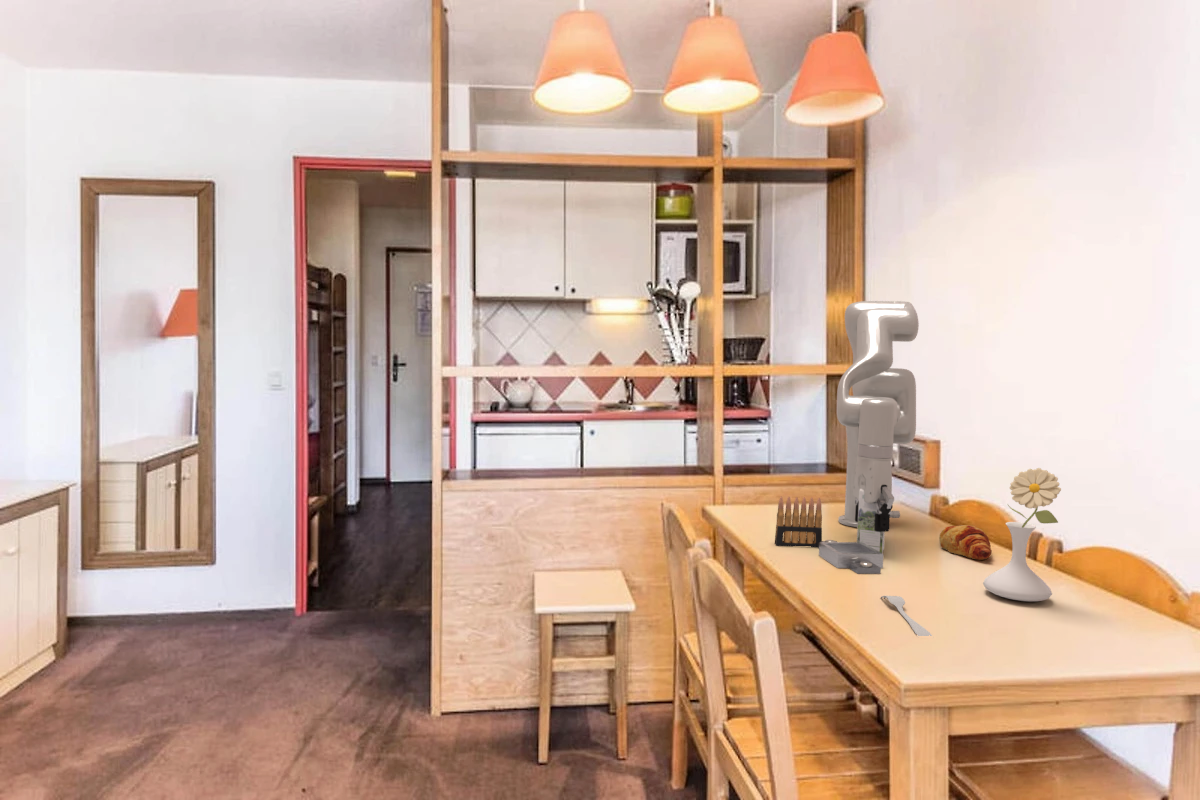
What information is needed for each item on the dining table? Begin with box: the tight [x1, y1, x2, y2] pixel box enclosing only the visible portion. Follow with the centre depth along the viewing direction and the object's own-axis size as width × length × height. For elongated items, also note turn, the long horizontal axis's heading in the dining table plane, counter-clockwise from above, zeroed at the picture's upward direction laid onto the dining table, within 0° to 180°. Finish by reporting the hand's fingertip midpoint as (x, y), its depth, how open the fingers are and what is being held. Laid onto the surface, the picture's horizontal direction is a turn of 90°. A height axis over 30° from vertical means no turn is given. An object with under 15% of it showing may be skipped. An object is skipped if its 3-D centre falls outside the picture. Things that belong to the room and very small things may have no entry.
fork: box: [880, 595, 933, 637], centre depth 129 cm, size 3×21×3 cm, turn 178°
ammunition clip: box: [774, 496, 823, 548], centre depth 175 cm, size 11×2×12 cm, turn 87°
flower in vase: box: [982, 467, 1062, 602], centre depth 140 cm, size 13×11×25 cm
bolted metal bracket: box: [816, 539, 884, 575], centre depth 165 cm, size 10×22×3 cm, turn 6°
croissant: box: [938, 524, 993, 561], centre depth 174 cm, size 21×10×8 cm, turn 0°
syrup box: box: [856, 489, 886, 554], centre depth 172 cm, size 6×6×14 cm
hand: (871, 526), depth 172 cm, fingers open, 9 cm apart
